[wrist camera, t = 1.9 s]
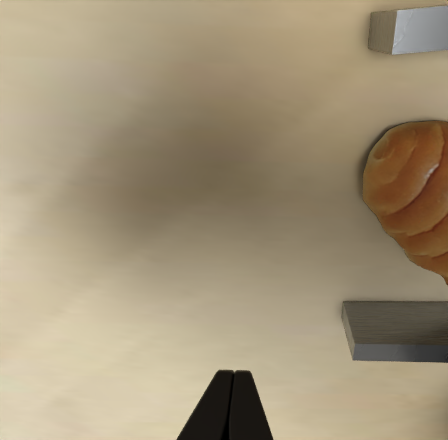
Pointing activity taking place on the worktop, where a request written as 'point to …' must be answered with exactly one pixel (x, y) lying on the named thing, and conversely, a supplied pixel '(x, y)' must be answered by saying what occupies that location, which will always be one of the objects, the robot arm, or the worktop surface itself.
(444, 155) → the pastry
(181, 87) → the worktop surface
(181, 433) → the robot arm
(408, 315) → the rail pocket
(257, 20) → the worktop surface
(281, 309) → the worktop surface
